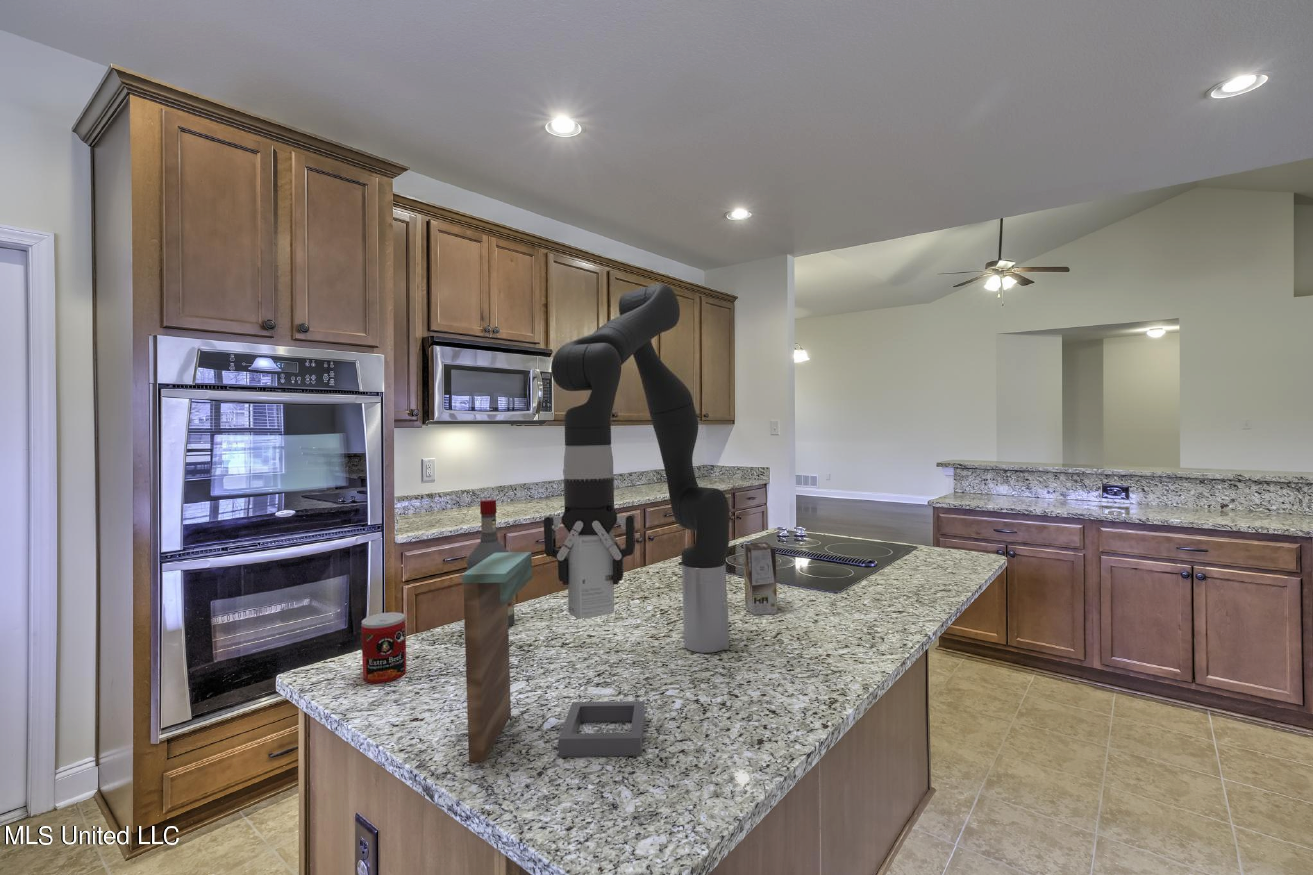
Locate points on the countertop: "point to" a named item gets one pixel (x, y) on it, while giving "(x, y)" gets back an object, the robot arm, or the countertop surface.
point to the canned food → (383, 647)
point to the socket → (602, 742)
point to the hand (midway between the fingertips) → (591, 583)
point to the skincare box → (590, 577)
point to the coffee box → (760, 578)
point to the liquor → (489, 544)
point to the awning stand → (490, 645)
